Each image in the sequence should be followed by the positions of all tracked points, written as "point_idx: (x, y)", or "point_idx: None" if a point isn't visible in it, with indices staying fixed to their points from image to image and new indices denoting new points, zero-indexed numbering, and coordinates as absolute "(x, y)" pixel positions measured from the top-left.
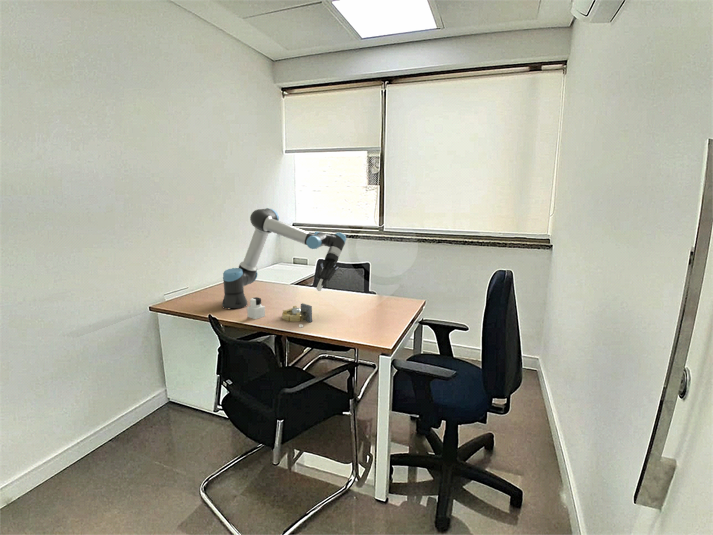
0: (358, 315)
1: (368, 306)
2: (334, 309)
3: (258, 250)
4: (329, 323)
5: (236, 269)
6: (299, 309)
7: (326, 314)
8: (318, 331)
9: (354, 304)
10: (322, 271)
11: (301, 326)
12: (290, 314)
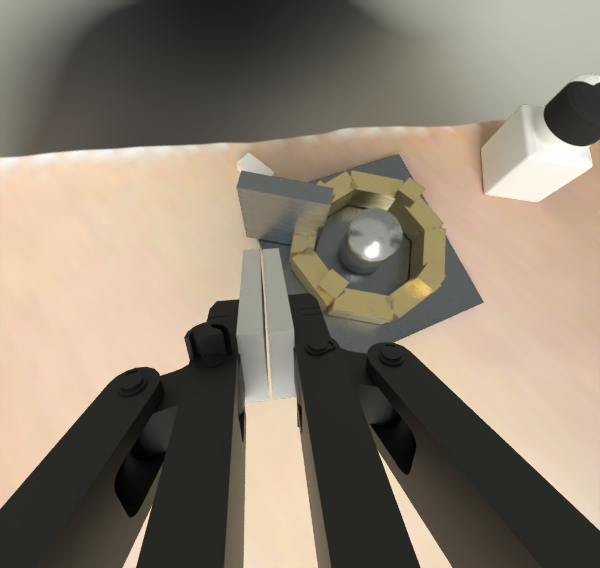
0: None
1: None
2: (291, 536)
3: None
4: (171, 290)
5: None
6: (354, 233)
7: (274, 407)
8: (161, 181)
9: None
10: (388, 543)
11: (245, 159)
12: (411, 257)
